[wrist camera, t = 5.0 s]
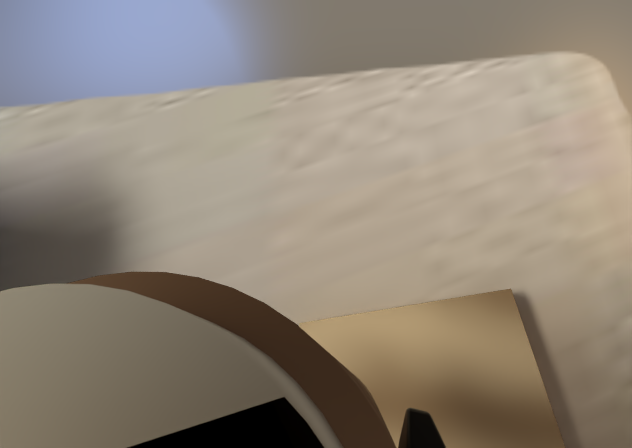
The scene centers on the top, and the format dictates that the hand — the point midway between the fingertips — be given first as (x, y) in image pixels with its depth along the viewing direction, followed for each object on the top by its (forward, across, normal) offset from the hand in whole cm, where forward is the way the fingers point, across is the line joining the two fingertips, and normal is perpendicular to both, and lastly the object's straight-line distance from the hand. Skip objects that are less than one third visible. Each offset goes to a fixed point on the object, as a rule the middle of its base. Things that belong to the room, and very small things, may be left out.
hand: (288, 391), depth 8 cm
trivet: (+9, -5, +10) cm, 14 cm away
